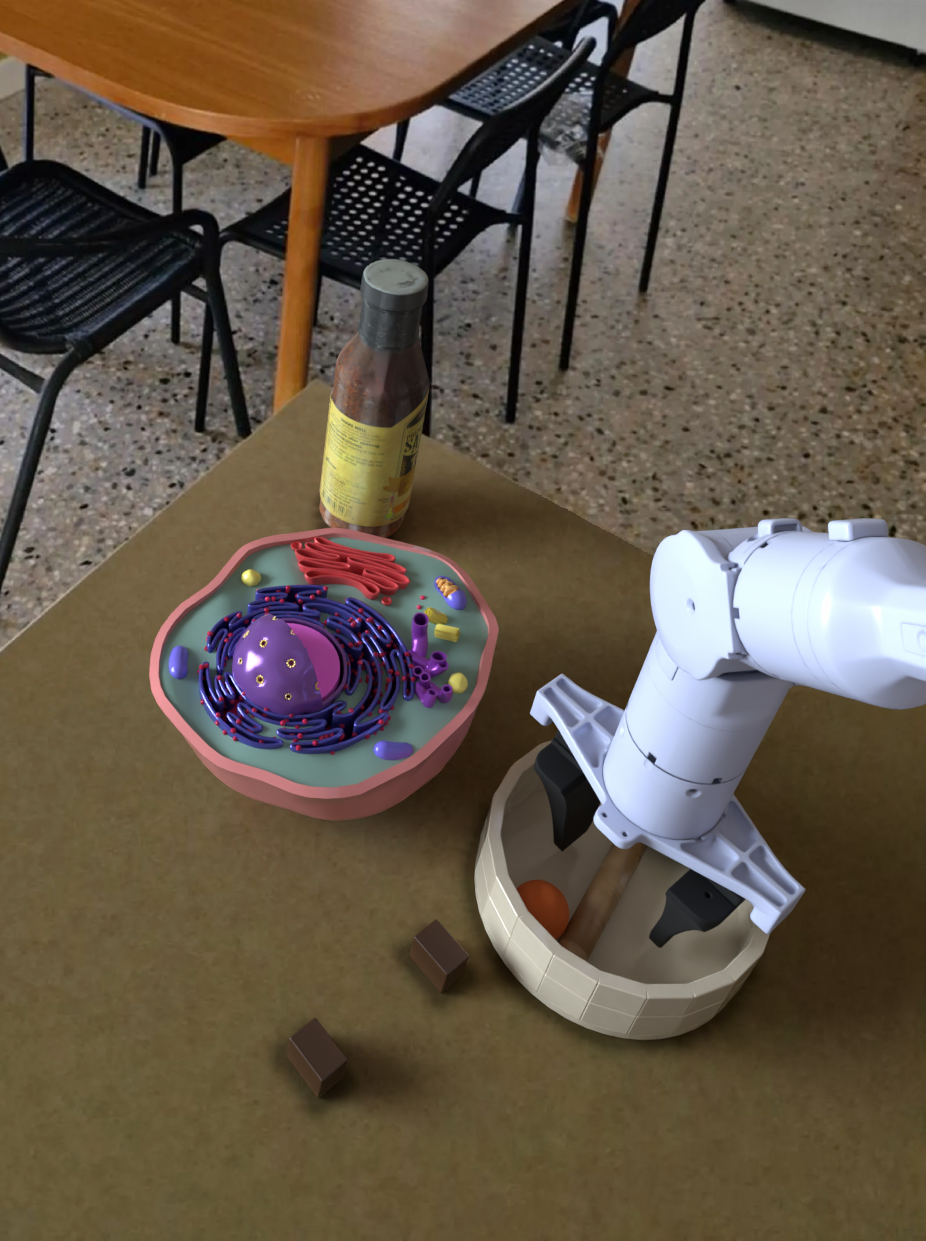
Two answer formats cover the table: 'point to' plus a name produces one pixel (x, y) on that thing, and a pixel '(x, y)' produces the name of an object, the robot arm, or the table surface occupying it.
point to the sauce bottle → (377, 405)
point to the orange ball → (546, 905)
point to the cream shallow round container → (624, 955)
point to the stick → (601, 899)
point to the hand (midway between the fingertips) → (616, 883)
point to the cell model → (327, 670)
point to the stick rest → (321, 1054)
